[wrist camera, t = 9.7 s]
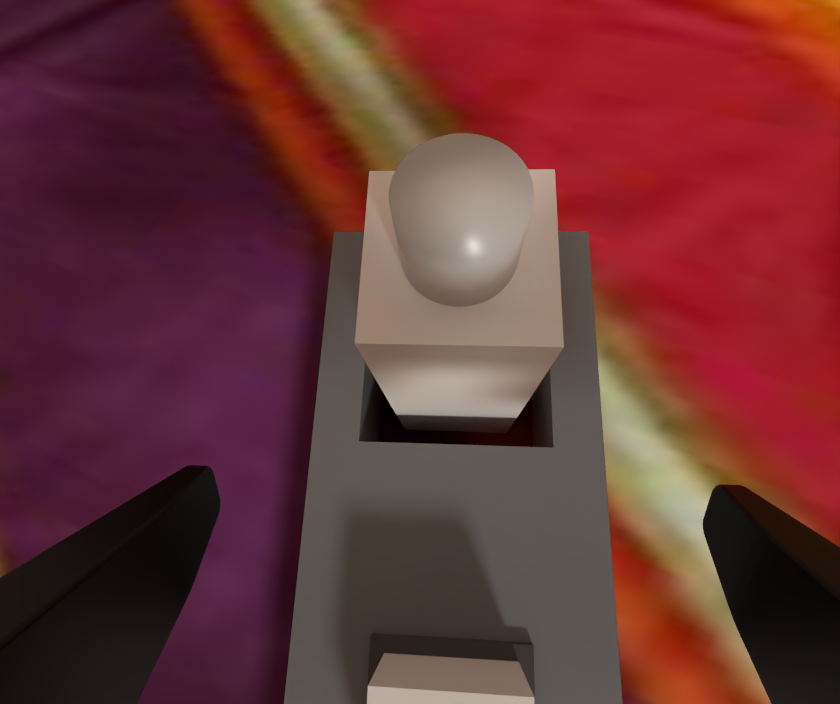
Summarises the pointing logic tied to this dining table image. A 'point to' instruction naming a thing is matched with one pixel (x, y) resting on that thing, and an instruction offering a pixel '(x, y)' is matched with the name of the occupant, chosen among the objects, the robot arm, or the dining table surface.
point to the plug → (460, 284)
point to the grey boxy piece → (455, 536)
